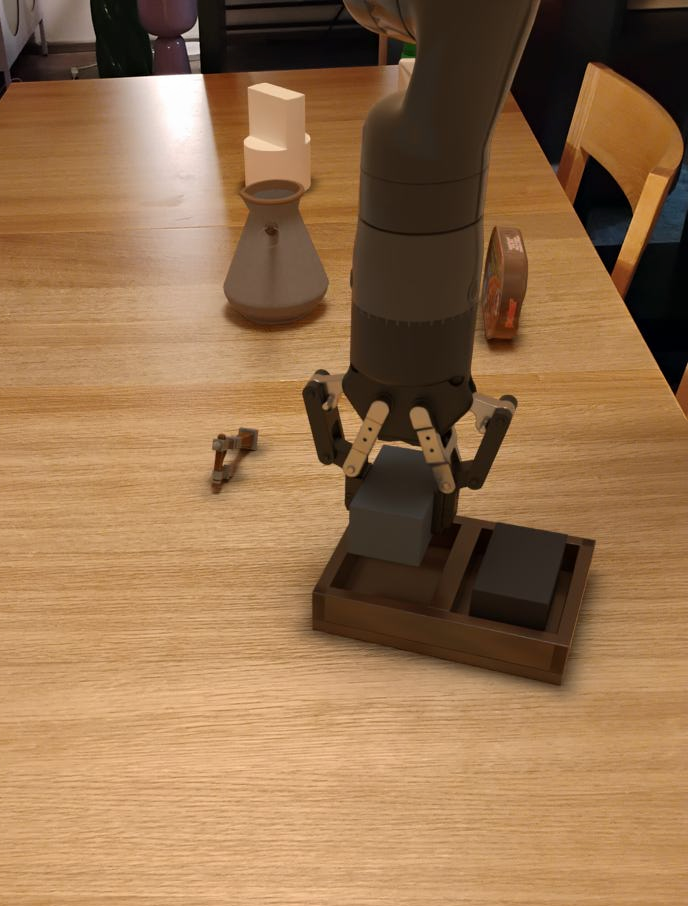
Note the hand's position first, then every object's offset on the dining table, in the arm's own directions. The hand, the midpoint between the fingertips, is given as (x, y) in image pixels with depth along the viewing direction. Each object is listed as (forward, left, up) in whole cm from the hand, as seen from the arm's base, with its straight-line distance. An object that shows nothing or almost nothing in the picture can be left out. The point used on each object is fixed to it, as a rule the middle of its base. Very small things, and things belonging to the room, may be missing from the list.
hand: (398, 519), depth 72 cm
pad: (0, 0, -1) cm, 1 cm away
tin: (+2, -46, -7) cm, 47 cm away
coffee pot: (+24, -38, -7) cm, 45 cm away
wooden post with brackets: (+18, -12, -7) cm, 22 cm away
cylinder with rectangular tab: (+39, -79, -7) cm, 88 cm away
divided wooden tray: (-4, 0, -6) cm, 8 cm away
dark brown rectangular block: (-9, 0, -5) cm, 10 cm away
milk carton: (+17, -75, -7) cm, 77 cm away
